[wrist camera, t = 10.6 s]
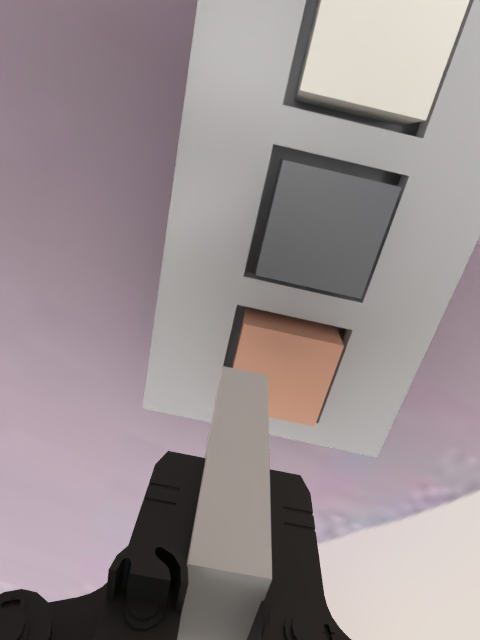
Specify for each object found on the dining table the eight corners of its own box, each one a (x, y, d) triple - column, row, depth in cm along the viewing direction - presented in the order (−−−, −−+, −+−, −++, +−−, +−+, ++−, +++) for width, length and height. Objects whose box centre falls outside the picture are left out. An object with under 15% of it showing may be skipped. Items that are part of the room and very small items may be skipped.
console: (232, -90, 17) (221, -177, 13) (530, -14, 18) (622, -72, 13) (162, 364, 27) (142, 408, 22) (358, 406, 27) (377, 457, 23)
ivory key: (327, -40, 16) (340, -81, 13) (446, -10, 16) (485, -44, 13) (294, 100, 18) (299, 90, 15) (400, 125, 18) (426, 120, 15)
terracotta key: (246, 302, 21) (243, 323, 19) (333, 321, 22) (343, 345, 19) (228, 377, 23) (223, 407, 21) (308, 394, 24) (314, 426, 21)
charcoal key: (280, 158, 19) (283, 159, 16) (381, 182, 19) (401, 187, 16) (256, 259, 21) (255, 275, 18) (348, 279, 21) (361, 298, 18)
